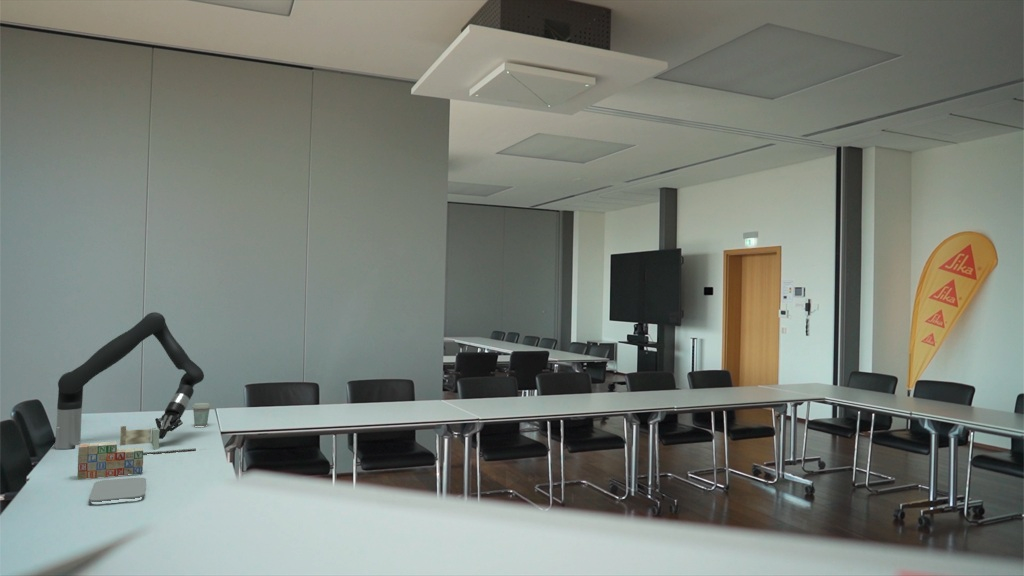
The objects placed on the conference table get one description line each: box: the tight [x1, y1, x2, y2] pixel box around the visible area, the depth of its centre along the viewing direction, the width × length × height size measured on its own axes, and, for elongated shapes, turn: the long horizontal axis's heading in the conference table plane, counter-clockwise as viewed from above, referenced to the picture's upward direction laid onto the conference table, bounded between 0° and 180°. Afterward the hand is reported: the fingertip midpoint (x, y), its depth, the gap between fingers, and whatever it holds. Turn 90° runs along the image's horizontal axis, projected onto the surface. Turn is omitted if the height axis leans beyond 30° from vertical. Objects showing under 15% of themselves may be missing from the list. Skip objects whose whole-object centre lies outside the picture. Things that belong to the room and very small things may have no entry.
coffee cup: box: [192, 402, 211, 427], centre depth 358 cm, size 9×9×12 cm
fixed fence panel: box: [119, 425, 152, 446], centre depth 307 cm, size 12×2×8 cm, turn 122°
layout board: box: [143, 448, 197, 456], centre depth 306 cm, size 30×27×1 cm
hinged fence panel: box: [150, 427, 160, 450], centre depth 304 cm, size 16×2×8 cm, turn 32°
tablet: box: [88, 477, 147, 502], centre depth 236 cm, size 16×26×2 cm, turn 27°
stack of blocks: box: [77, 440, 144, 480], centre depth 259 cm, size 21×6×12 cm, turn 117°
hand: (159, 437), depth 301 cm, fingers closed
